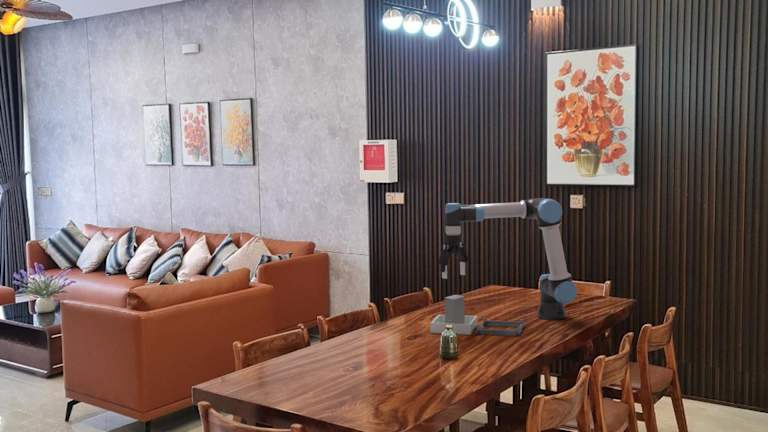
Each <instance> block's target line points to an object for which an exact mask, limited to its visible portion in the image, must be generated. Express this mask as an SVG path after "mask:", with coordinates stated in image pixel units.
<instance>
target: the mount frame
mask: <svg viewBox="0 0 768 432" xmlns="http://www.w3.org/2000/svg"><path fill="white" fill-rule="evenodd" d="M488 326H491V327H505V328H506V327H508V328H509V327H510V328H511V327H512V328H515V330H513V329H495V328H491V329H490V328H485V327H488ZM523 328H525V318H520V321H514V320H513V321H510V320H509V321H507V320H488V319H487V316H483V317H482V322H481V324H480V325H479V324H478V326H477V327H476V335H487V336H488V335H489V336H506V337H507V336H511V337H521V333H522V331H523Z"/></svg>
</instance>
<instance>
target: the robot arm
mask: <svg viewBox="0 0 768 432" xmlns="http://www.w3.org/2000/svg"><path fill="white" fill-rule="evenodd" d="M444 211H445V212H444V213H445V214H444V216H445V217H444V218H445V234H446V235H445V242H446V244H442V246H441V252H440V254H439V255H440V256H439V258H438V262H437V264H438V265H439V266H441V268H440V269H441V279H446V280H448V265H447V263H448V261H449V260H450V258H451V256H452V255H453V254H456V255H457V257H458V258H459V261H460V262H459V275H461V276H466V267H467V266H466V263H468V261H469V255H468V253H467V251H466V247H465V243H464V242H461V241H462V235H461V234H462V228H461V226H462V225H461V223H465V222H466V223H467V222H468V223H469V222H471V223H472V222H476V223H477V222H483V221H484V219H499V218H503V219H504V218H519V217H520V218H521V219H532V220H536V222H537V226H538V228H539V229H540V230H541V232H542V233H541V234H542V237H543V242H544V243H543V244H544V248H545V252H546V253H545V254H546V259H547V263H548V269H549V273H546V274H544V273H543V274H541V275H540V276H539V278H540V279H539V294H540V295H539V299H540V301H539V306H538V307H537V311H536V317H537V318H538V319H542V320H553V321H554V320H563V318H564V319H566V318H567V312H566V309H565V305H564V304H569V303H571V302H573V301H574V300H575V299H576V298H577V295H578V288H577V285H576V284H575V283H574V282H573V278H572V274H571V273H569V272H568V269H567V264H566V257H565V253H564V247H563V243H562V238H561V237H562V236H561V231H560V225H562V220H561V218H562V216H563V208H562V205H561V204H560V202H559V201H557V200H555V199H552V198H545V197H544V198H543V197H537V198H530V199H521V200H520V201H516V202H497V203H479V204H477V203H476V204H461V203H459V202H448V203H446V204H445V207H444Z"/></svg>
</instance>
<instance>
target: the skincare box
mask: <svg viewBox="0 0 768 432" xmlns="http://www.w3.org/2000/svg"><path fill="white" fill-rule="evenodd" d="M465 301H466V299H465V296H463V295H460V294H453V295H449V296H445V297H444V315H445V323H454V324H465V316H466V315H465Z"/></svg>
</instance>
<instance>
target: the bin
mask: <svg viewBox="0 0 768 432" xmlns="http://www.w3.org/2000/svg"><path fill="white" fill-rule="evenodd" d="M429 324H430V325H429V326H430V327H429V329H430V332H429V333H431V334H442V332H443V330H444V329H445V326H446V325H452V327H453V329H454V331H455V332H456V333H457V334H456V335H466V336H470V335H472V334H473V333H474V331H475V330H476V329H477V326H478V325H479V324H478V315H465V324H454V323H445V314H438V315H437V316H435V317H434V318H433V320H432V321H431V322H430V323H429Z"/></svg>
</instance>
